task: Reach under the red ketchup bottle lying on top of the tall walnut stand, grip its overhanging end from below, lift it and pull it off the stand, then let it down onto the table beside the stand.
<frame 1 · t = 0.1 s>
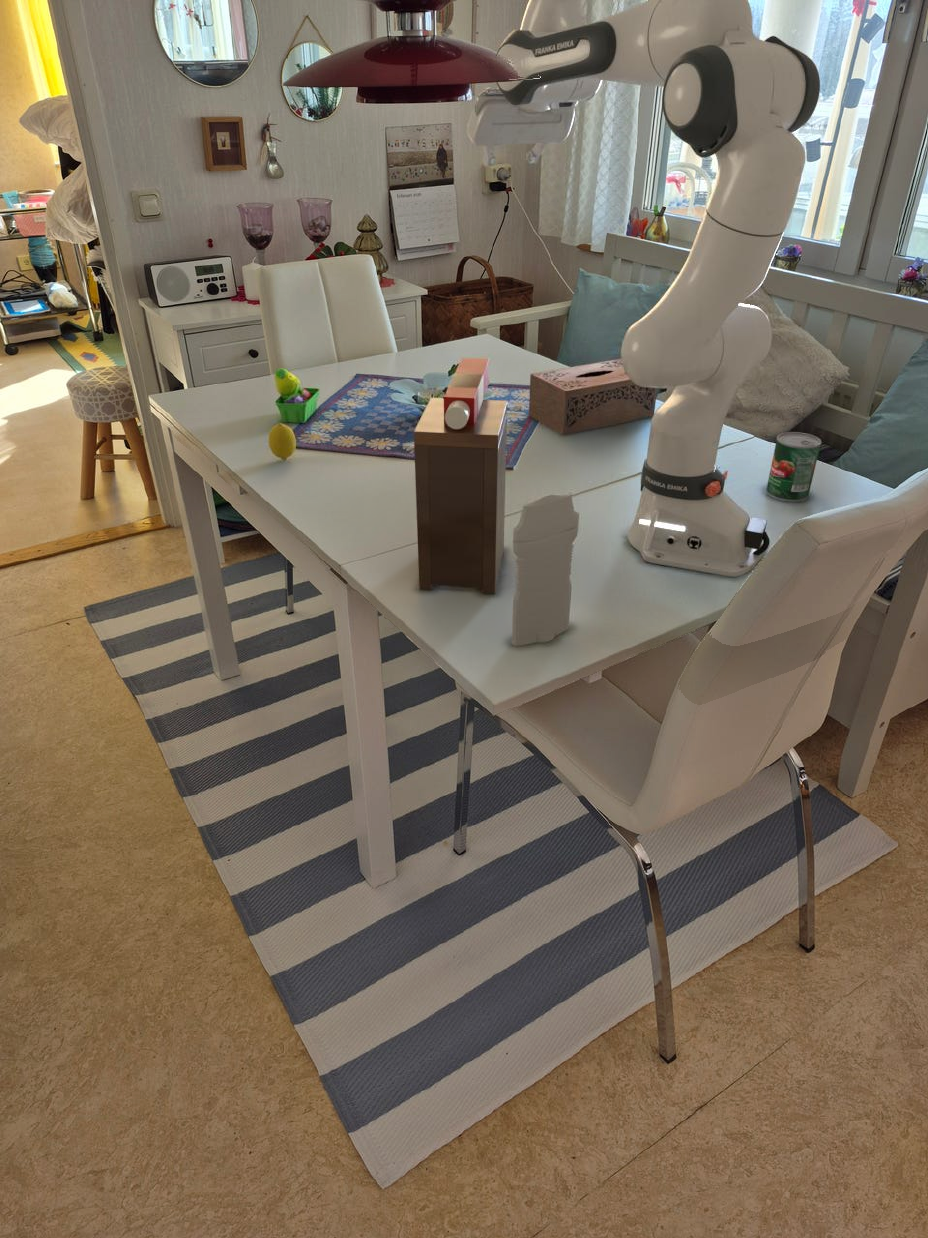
hand: (509, 163, 161), 54 cm above the table, tool tilted 30°, fingers open, 8 cm apart
canned tomato: (786, 494, 166), on the table
walnut stand: (463, 568, 141), on the table
fruit basket: (297, 416, 203), on the table
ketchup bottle: (467, 402, 132), point 26 cm above the table, touching walnut stand
tall pale column: (540, 636, 124), on the table
tissue box cover: (591, 416, 203), on the table
lemon: (284, 460, 180), on the table
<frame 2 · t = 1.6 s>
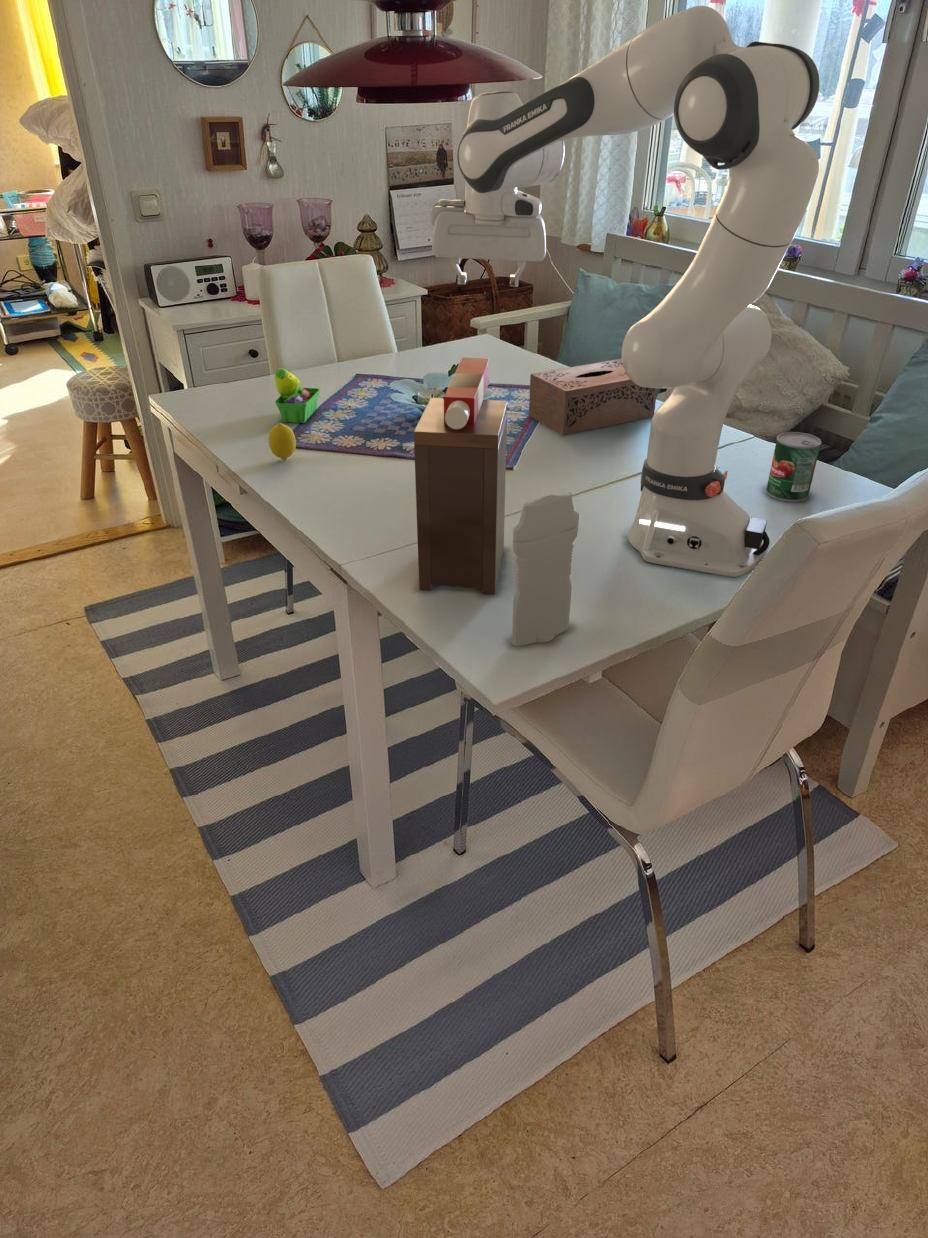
hand: (487, 284, 155), 36 cm above the table, tool pointing down, fingers open, 8 cm apart
nothing on the table moved.
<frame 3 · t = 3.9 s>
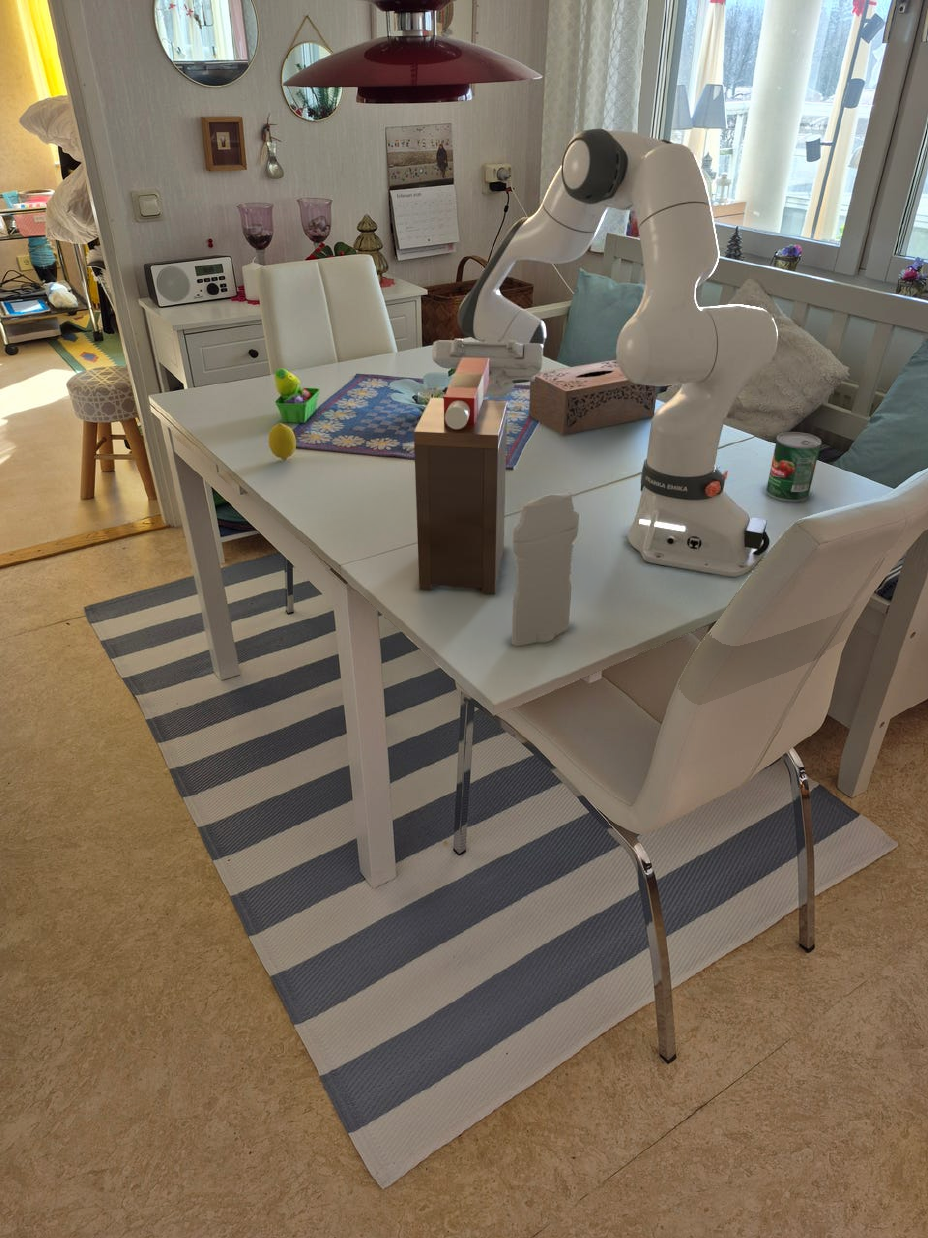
hand: (484, 344, 150), 29 cm above the table, tool pointing upward, fingers open, 8 cm apart
nothing on the table moved.
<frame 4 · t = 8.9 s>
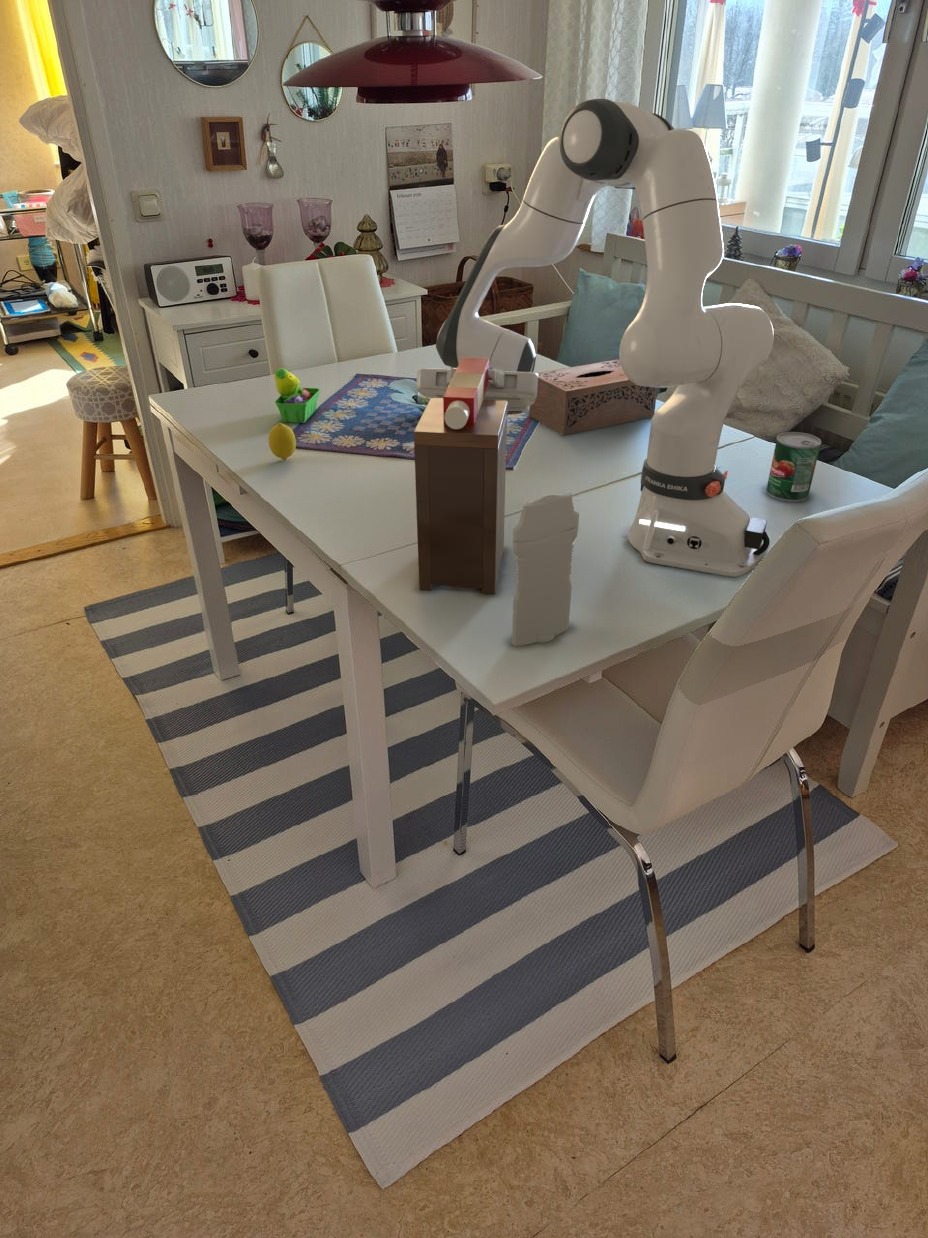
hand: (473, 373, 136), 28 cm above the table, tool pointing upward, fingers closed on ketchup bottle, 4 cm apart
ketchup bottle: (467, 402, 132), point 26 cm above the table, touching gripper, walnut stand
everything else where it was.
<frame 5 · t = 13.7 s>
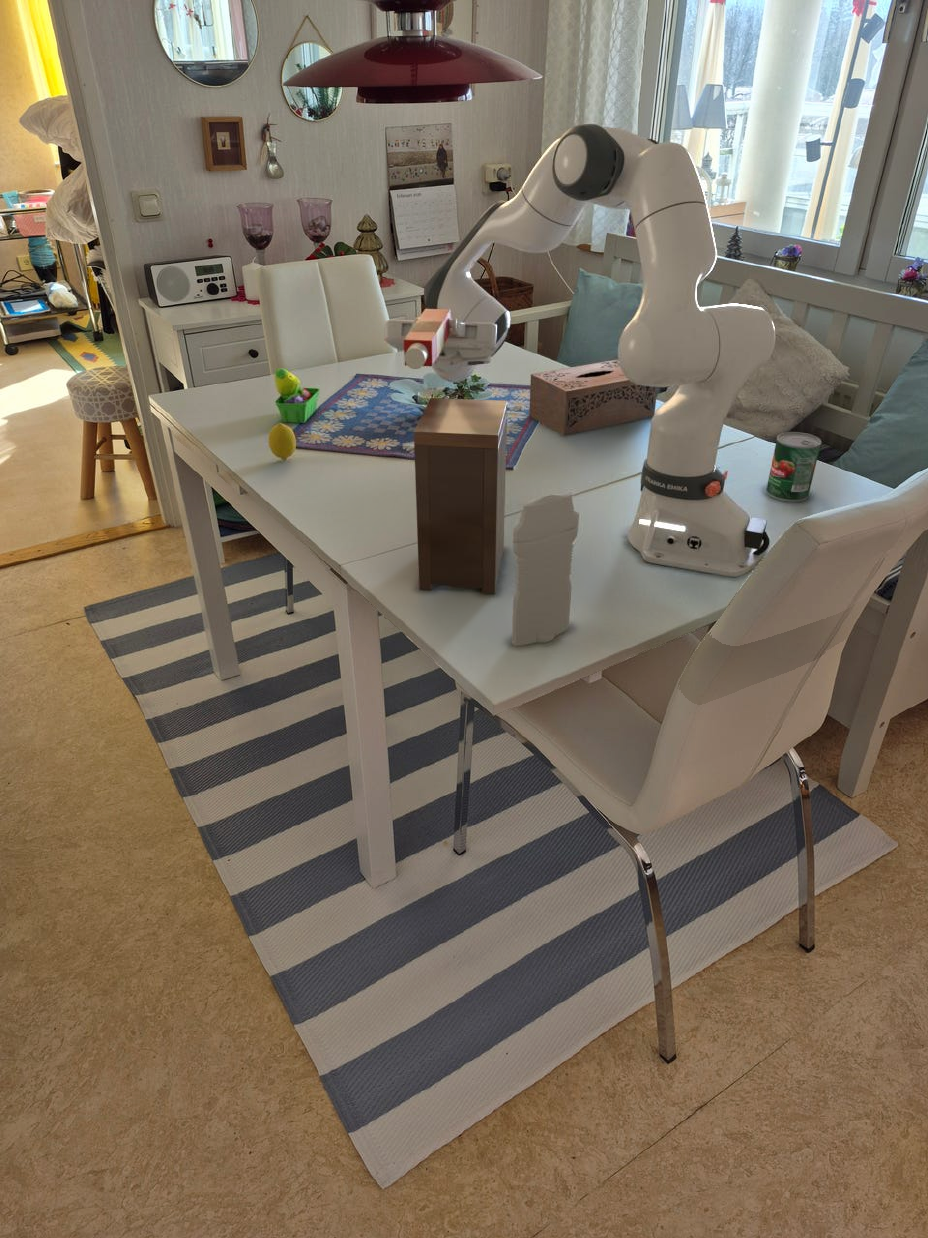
hand: (435, 322, 147), 33 cm above the table, tool pointing upward, fingers closed on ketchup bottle, 4 cm apart
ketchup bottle: (428, 348, 142), point 30 cm above the table, touching gripper
everything else where it was.
when the fingers open (19 cm above the table, at t = 18.5 s): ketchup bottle drops 17 cm, on the table.
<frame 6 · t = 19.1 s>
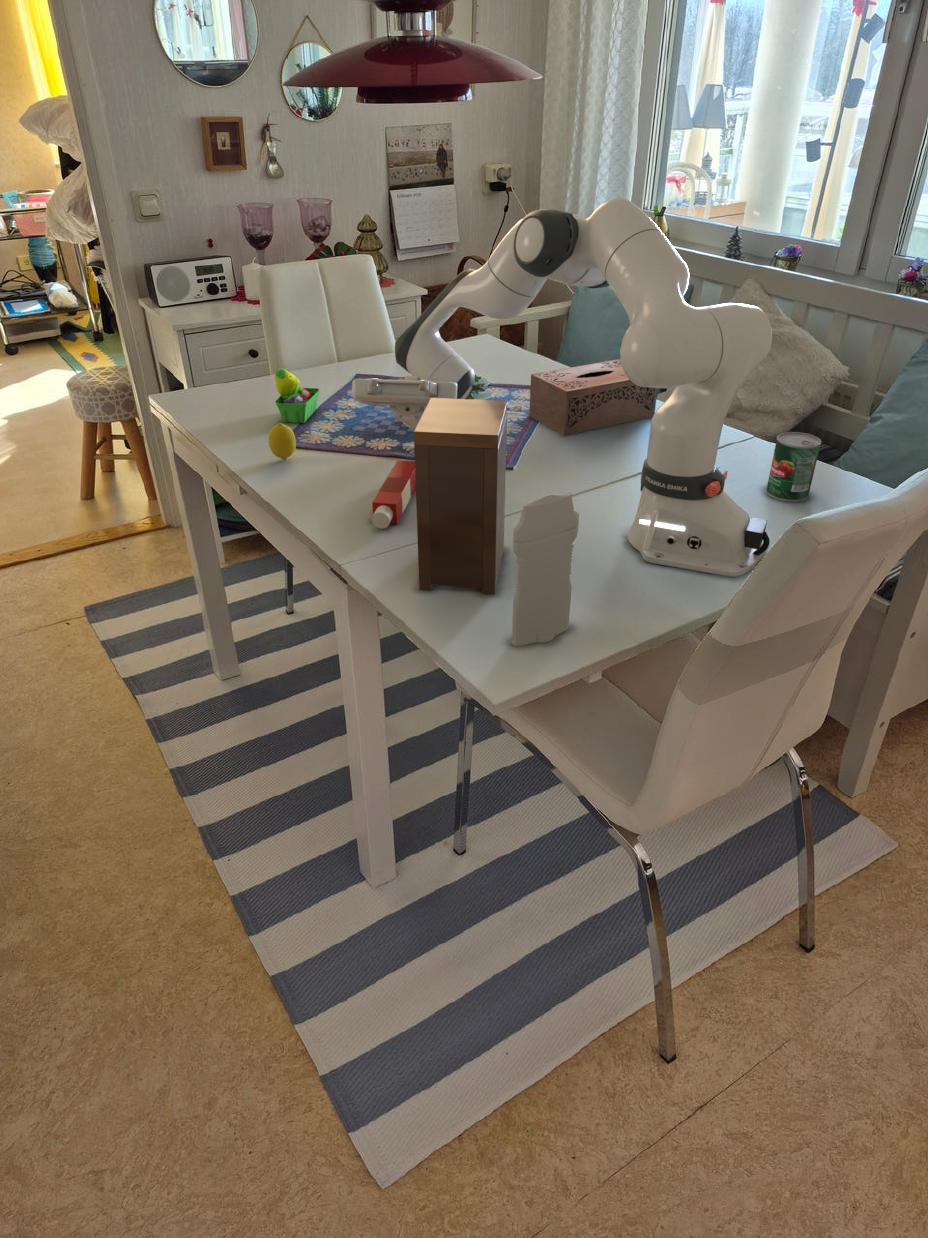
hand: (398, 383, 157), 21 cm above the table, tool pointing upward, fingers open, 8 cm apart
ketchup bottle: (397, 500, 163), on the table
everything else where it was.
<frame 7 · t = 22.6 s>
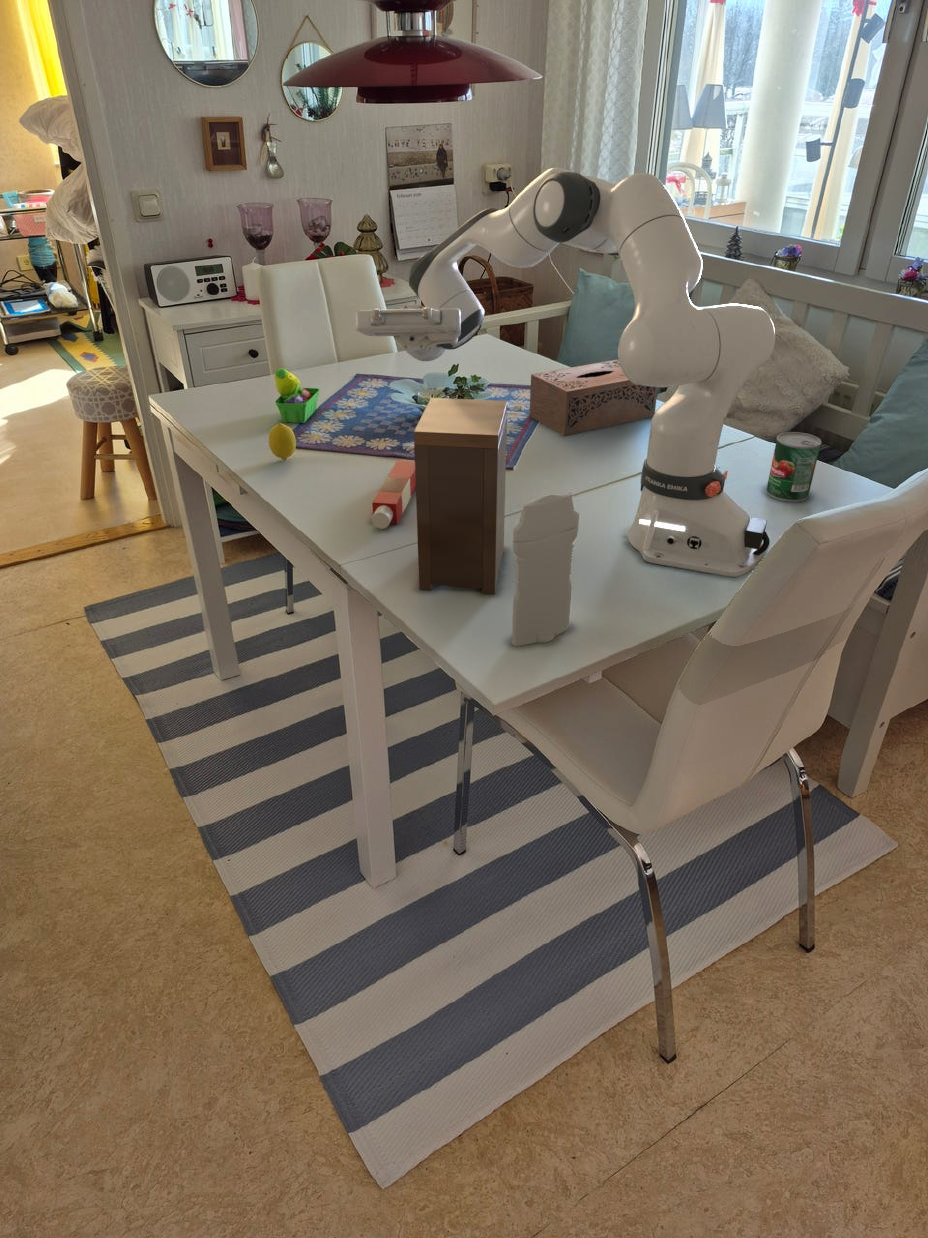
hand: (401, 312, 156), 32 cm above the table, tool pointing upward, fingers open, 8 cm apart
nothing on the table moved.
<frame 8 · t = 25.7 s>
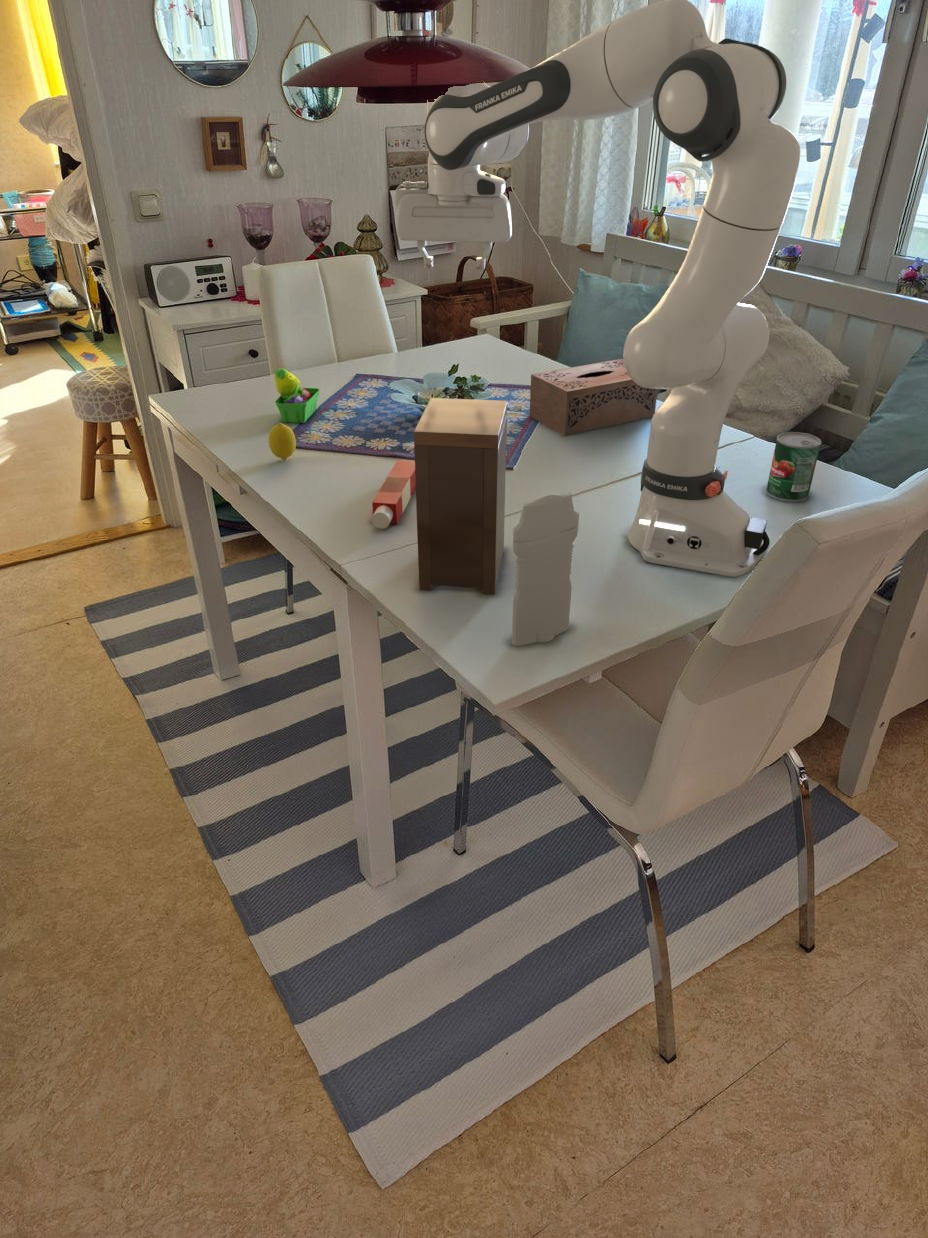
hand: (454, 268, 154), 39 cm above the table, tool pointing down, fingers open, 8 cm apart
nothing on the table moved.
at the end: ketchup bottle inside the target area (0.9 cm from its centre), on the table; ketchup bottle touching table; the gripper is holding nothing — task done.
